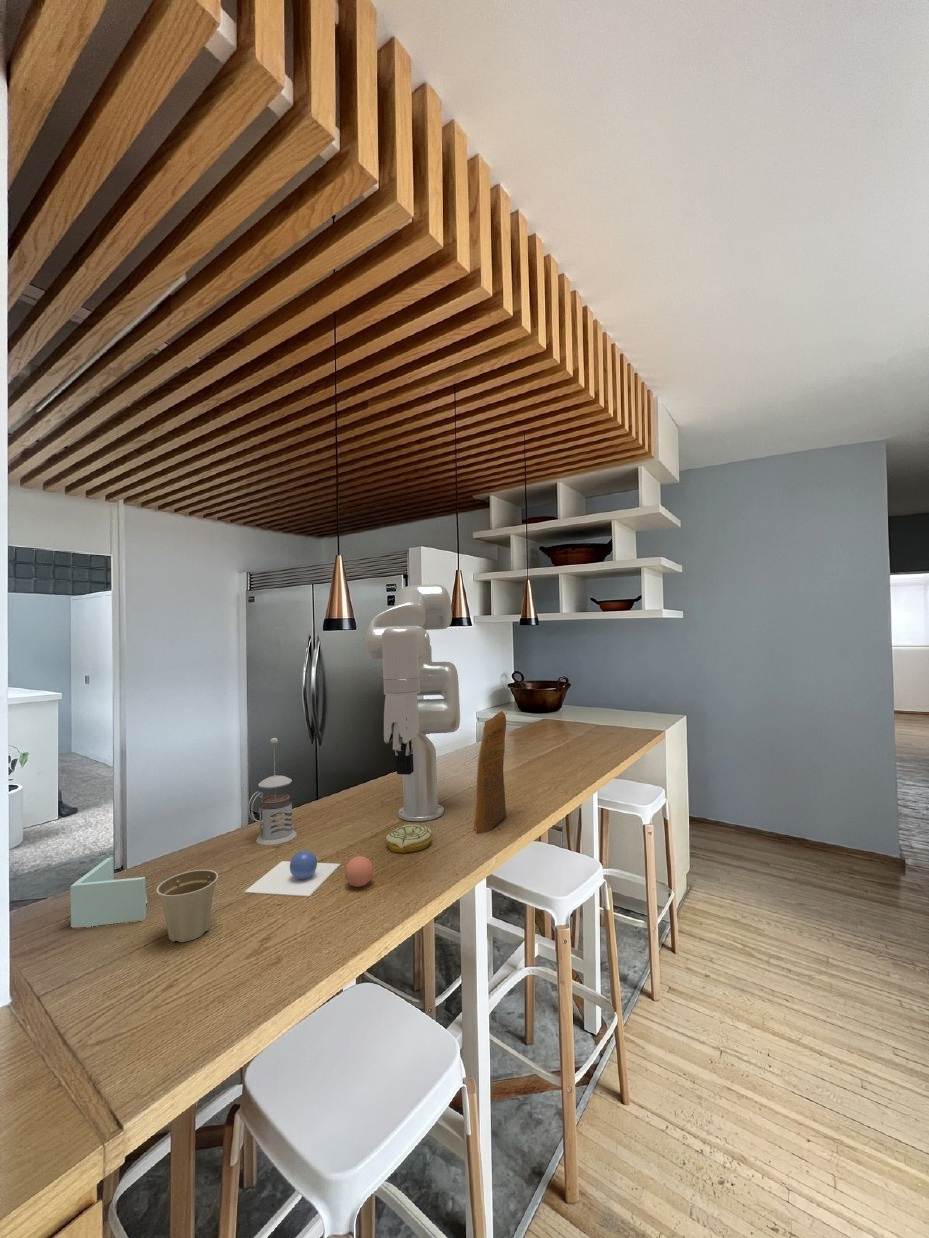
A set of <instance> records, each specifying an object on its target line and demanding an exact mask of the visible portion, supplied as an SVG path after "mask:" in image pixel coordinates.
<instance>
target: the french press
mask: <svg viewBox="0 0 929 1238" xmlns="http://www.w3.org/2000/svg"><path fill="white" fill-rule="evenodd" d="M278 742H279V740H278V738H277V737H273V738H271V739H269V743H270V744H276V743H278ZM275 753H276V751H275V745H273V766H274V767H273V770H274V771H273V772H274V774H273V775H271V776H268V777H267V778H266V777H265V778H264V779H263V780H261V781H260V782H259V783H258V784H257V785H258V788H260V789H264V790H265V789H274V794H271V795H270V794H269V795H267V796H264V793H263V792H260V791H259V790H258V791H256V792H255V793H253V794H252V796H251V798H250V799H249V802H248V805H247V809H248V811H247V812H248V815H249V817H250V819H252V820H253V821H255V822H257V823H258V824H259V834H258V836H257V838H256V839H257V840H256V839H255V842H256V843H257V842H258V843H257V844H260V845H266V846H267V845H268V846H270V845H279V844H282V843H287V842H289V841H292V840H293V839H295V838H296V837H297V834H298V833H297V832H296V831H295V830H294V829H293V804H292V803H293V802H292V801H291V800H290V799H291V796H290V794H283V793H280V794H279V793H278V794H276V792H277V790H276V789H278V788H282V787H285V786H289V785H290V784H291V783H292V781H293V779H291V778H289V777H287V776H285V775H276V755H275ZM257 797H259V798H260V802H261V803H262V804H260V805H259V811H258V812H259V819H256V818H255V815H254V813H253V806H254V803H255V800H256V799H257ZM253 798H254V799H253ZM252 799H253V800H252ZM251 801H252V803H251ZM250 804H251V808H250ZM267 807H271V808H274V809H271V808H267ZM264 808H265V809H264ZM250 810H251V811H250ZM276 814H278V815H276ZM280 814H281V815H280ZM278 819H281V820H278ZM282 819H284V820H282ZM279 824H284V825H279Z"/></svg>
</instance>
